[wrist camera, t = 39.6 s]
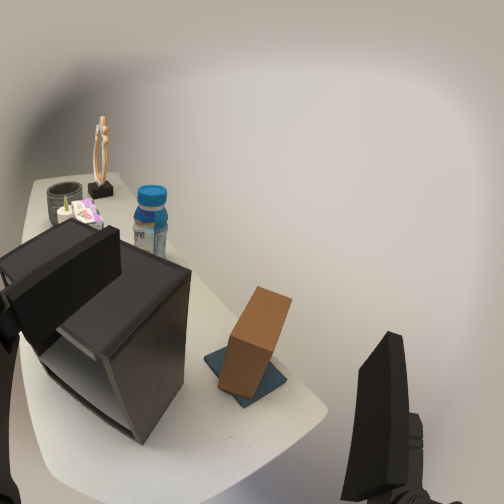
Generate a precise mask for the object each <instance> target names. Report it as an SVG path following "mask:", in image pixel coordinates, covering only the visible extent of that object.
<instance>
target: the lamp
mask: <svg viewBox="0 0 504 504" xmlns="http://www.w3.org/2000/svg"><path fill="white" fill-rule="evenodd" d="M107 131H108V127H107V126H105V116H103V117H102V116H100V119H99V125H97V126H96V133H95V144H94V153H93V166H94V176H95V180H96V181H97V182H94V183H89V184H88V193H89V194H90V196H91V197H92V199H97V198H102V197H108V196H113V186H112V185H111V184H110V183H109V182H108V181H105V179H106V172H107V147H106V144H108V137H107V135H106V133H107ZM100 133H102V134H101V136H102V138H103V141H102V155H103V165H102V176H101V180H100V179H99V175H98V166H97V153H98V145H99V140H100V139H99V134H100Z"/></svg>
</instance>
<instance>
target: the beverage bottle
mask: <svg viewBox="0 0 504 504" xmlns="http://www.w3.org/2000/svg"><path fill="white" fill-rule="evenodd" d="M166 198H167V190H166V189H165V188H164V187H162V186H159V185H145V186H142V187H140V188H139V189H138V204H139V206H138V207H137V209H136V211H135V214H134V220H135V222H134V225H133V230H134V244H135V246H136V247H138V248H140V249H142V250H145V251H147V252H149V253H152V254H154V255H156V256H159V257H161V258H163V259H165V245H166V233H167V229H168V225H167V222H166V221H167V220H168V214H167V211H166V209H165V207H164V205H165V203H166Z"/></svg>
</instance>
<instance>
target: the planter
mask: <svg viewBox="0 0 504 504" xmlns="http://www.w3.org/2000/svg"><path fill="white" fill-rule="evenodd" d="M65 196H66V197H67V201H68V205H71V202H72V201H78V200H83V196H82V185H81V184H80V183H78V182H63V183H58V184H55V185H53V186H51V187H49V188H48V189H47V203H48V213H49V220H50V222H51V223H52V224H53V226H56V225H58V216H57V210H58V209H59V208H61V207H63V206H64V197H65Z"/></svg>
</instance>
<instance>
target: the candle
mask: <svg viewBox="0 0 504 504" xmlns="http://www.w3.org/2000/svg"><path fill="white" fill-rule="evenodd" d="M57 216H58V224H60V223H61V222H63V221H65V220H67V219H69V218H71V217H72V207H71V205H68V201H67V197H66V196H65V197H64V206H63V207H61V208H59V209H58V210H57Z"/></svg>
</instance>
